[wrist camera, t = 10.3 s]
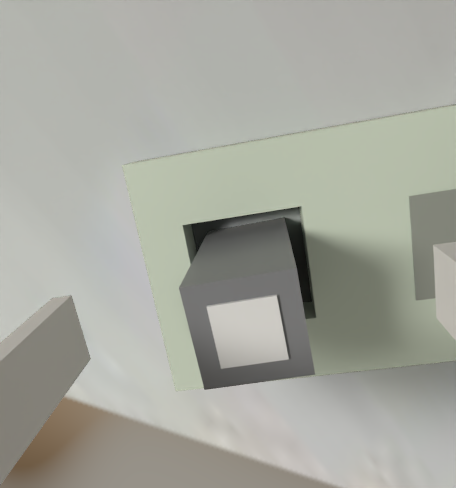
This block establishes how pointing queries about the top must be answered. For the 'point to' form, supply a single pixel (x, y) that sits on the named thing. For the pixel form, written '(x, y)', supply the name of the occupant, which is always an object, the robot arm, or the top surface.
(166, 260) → the outlet plate
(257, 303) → the block
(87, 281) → the top surface
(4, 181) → the top surface
